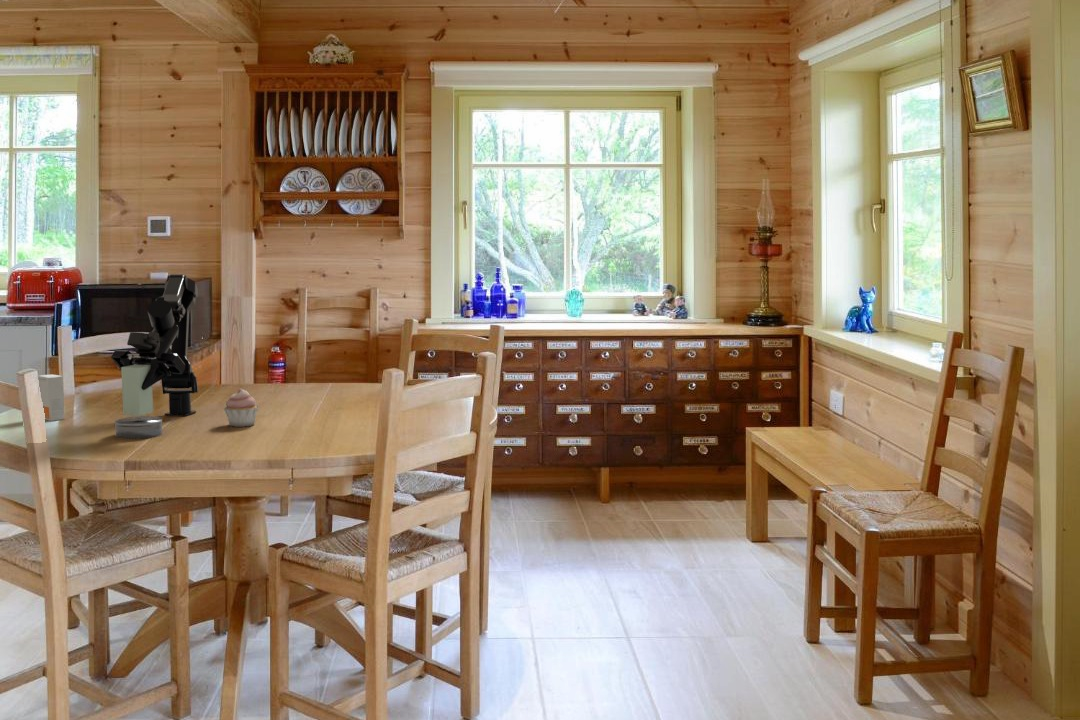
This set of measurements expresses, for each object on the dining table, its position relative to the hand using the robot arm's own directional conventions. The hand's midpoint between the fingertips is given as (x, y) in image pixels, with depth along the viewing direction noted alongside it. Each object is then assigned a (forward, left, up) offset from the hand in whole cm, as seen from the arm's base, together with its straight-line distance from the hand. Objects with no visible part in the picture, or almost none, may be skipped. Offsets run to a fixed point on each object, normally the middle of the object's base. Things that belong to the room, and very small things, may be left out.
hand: (133, 388), depth 252 cm
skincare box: (-17, -35, -12) cm, 41 cm away
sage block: (-1, 0, -7) cm, 7 cm away
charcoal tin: (-1, 0, -12) cm, 12 cm away
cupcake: (-19, +19, -12) cm, 30 cm away
